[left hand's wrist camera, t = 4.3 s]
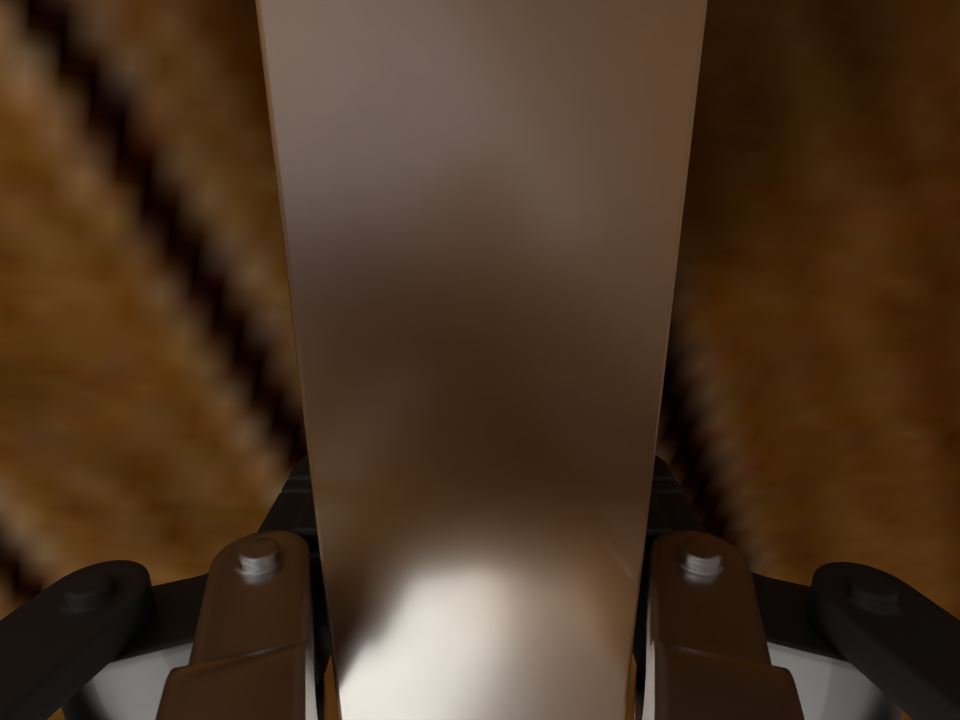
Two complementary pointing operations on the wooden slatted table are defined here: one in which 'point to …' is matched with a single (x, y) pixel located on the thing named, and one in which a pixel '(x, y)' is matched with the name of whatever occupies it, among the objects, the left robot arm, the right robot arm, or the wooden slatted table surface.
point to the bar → (481, 332)
